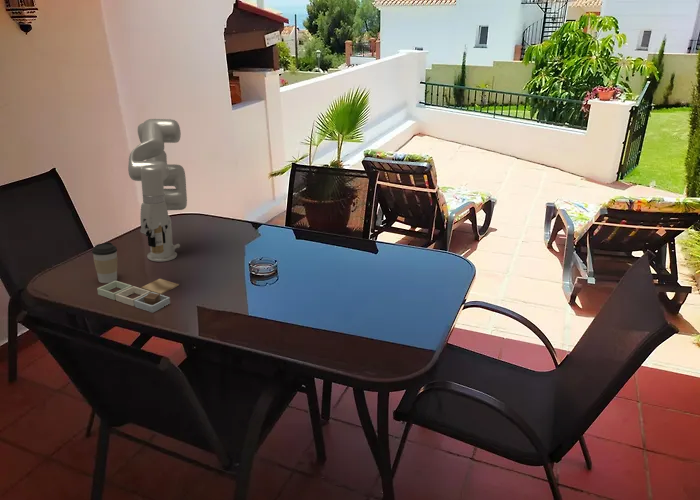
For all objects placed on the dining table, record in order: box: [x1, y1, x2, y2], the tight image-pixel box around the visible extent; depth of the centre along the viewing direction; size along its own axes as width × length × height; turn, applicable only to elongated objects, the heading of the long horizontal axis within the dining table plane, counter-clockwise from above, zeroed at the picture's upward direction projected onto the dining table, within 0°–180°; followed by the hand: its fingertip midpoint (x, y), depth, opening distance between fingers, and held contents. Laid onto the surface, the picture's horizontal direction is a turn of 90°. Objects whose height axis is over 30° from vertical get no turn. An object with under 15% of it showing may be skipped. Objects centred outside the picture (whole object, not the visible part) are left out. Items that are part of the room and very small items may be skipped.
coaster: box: [140, 278, 180, 295], centre depth 206 cm, size 10×10×1 cm
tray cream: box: [115, 285, 151, 307], centre depth 195 cm, size 9×9×3 cm
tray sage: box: [96, 280, 133, 301], centre depth 198 cm, size 9×9×3 cm
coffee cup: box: [91, 241, 118, 284], centre depth 207 cm, size 9×9×15 cm
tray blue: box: [134, 292, 171, 314], centre depth 191 cm, size 9×9×3 cm
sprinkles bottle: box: [150, 222, 164, 254], centre depth 198 cm, size 5×5×14 cm
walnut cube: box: [144, 293, 160, 305], centre depth 191 cm, size 4×4×4 cm
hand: (157, 243), depth 200 cm, fingers closed on sprinkles bottle, 4 cm apart
